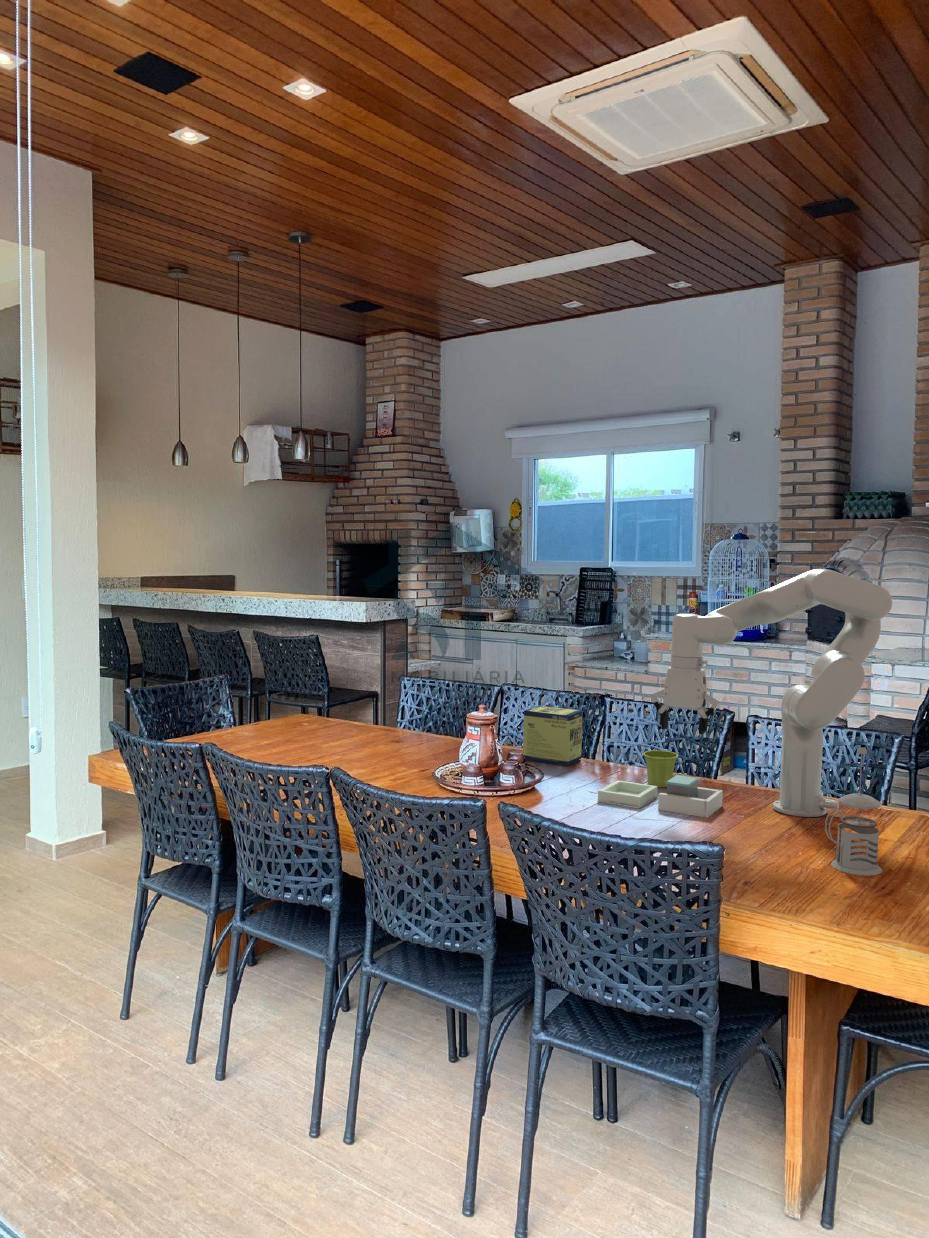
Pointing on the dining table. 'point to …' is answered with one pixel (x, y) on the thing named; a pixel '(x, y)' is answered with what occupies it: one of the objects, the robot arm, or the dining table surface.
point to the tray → (627, 794)
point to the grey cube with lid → (683, 786)
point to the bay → (692, 802)
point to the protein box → (552, 735)
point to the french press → (857, 835)
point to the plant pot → (660, 766)
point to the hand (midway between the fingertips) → (683, 730)
